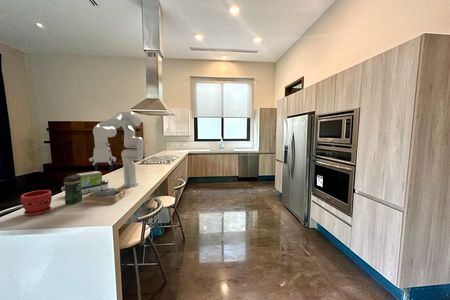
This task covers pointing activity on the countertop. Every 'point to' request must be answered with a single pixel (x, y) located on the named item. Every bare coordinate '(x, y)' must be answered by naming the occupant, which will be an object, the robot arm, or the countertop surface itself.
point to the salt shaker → (104, 185)
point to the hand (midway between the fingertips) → (103, 170)
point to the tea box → (90, 181)
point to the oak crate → (103, 198)
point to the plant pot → (36, 202)
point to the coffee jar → (73, 189)
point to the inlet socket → (104, 193)
